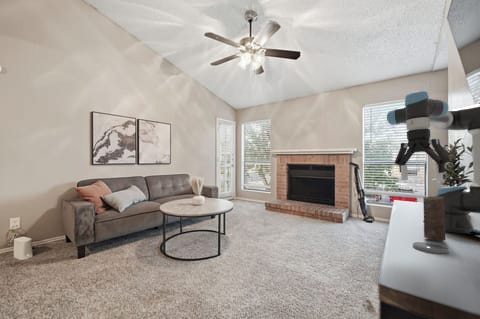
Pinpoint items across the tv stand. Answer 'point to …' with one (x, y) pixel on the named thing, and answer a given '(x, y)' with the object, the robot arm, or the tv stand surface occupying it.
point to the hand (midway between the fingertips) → (420, 180)
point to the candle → (434, 218)
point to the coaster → (430, 248)
